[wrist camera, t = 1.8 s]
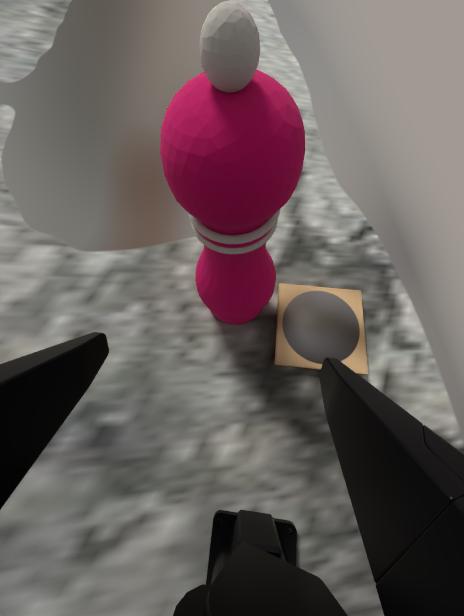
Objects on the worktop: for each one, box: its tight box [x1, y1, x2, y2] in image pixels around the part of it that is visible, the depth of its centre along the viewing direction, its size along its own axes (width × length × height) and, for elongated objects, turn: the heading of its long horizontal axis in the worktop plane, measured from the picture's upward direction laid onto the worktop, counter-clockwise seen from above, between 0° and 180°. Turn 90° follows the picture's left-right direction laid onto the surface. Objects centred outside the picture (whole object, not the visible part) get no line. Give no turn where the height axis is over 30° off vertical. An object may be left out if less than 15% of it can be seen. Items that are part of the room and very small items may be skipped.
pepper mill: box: [160, 1, 305, 324], centre depth 15 cm, size 7×7×20 cm
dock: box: [275, 284, 368, 375], centre depth 23 cm, size 8×8×1 cm
